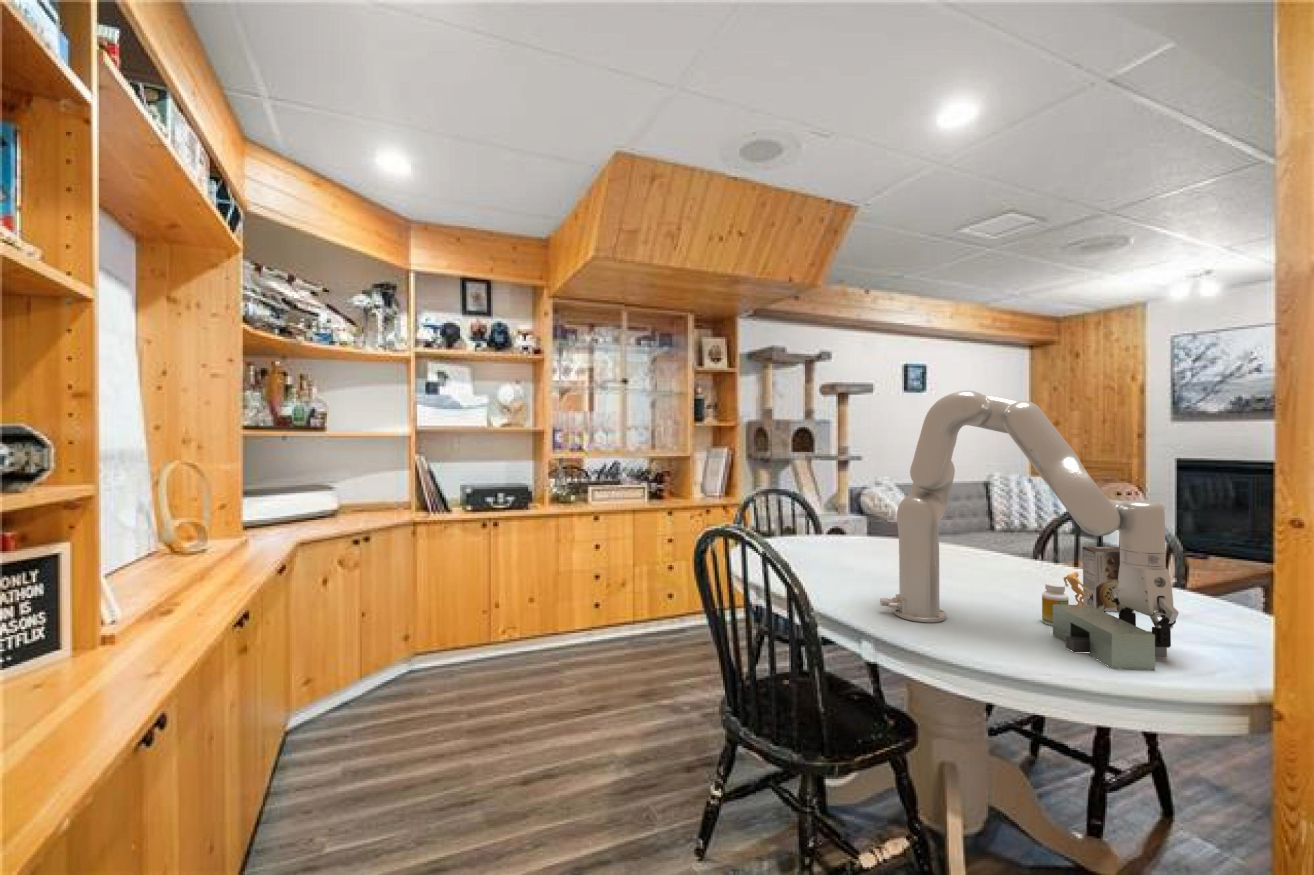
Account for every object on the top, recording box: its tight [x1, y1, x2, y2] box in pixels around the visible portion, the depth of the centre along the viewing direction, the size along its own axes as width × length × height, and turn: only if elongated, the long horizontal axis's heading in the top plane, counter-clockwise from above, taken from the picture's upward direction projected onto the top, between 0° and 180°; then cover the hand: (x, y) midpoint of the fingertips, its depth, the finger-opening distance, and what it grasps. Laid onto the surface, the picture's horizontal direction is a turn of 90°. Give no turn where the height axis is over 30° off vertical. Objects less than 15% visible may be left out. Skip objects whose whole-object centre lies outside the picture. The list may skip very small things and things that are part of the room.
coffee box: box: [1082, 546, 1135, 613], centre depth 154 cm, size 9×6×16 cm
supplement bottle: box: [1041, 582, 1070, 627], centre depth 142 cm, size 5×5×10 cm
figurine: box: [1062, 571, 1091, 605], centre depth 145 cm, size 8×6×12 cm
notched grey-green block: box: [1052, 604, 1156, 670], centre depth 124 cm, size 8×20×7 cm, turn 174°
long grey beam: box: [1065, 630, 1170, 658], centre depth 123 cm, size 18×4×4 cm, turn 82°
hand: (1143, 638), depth 123 cm, fingers open, 9 cm apart
